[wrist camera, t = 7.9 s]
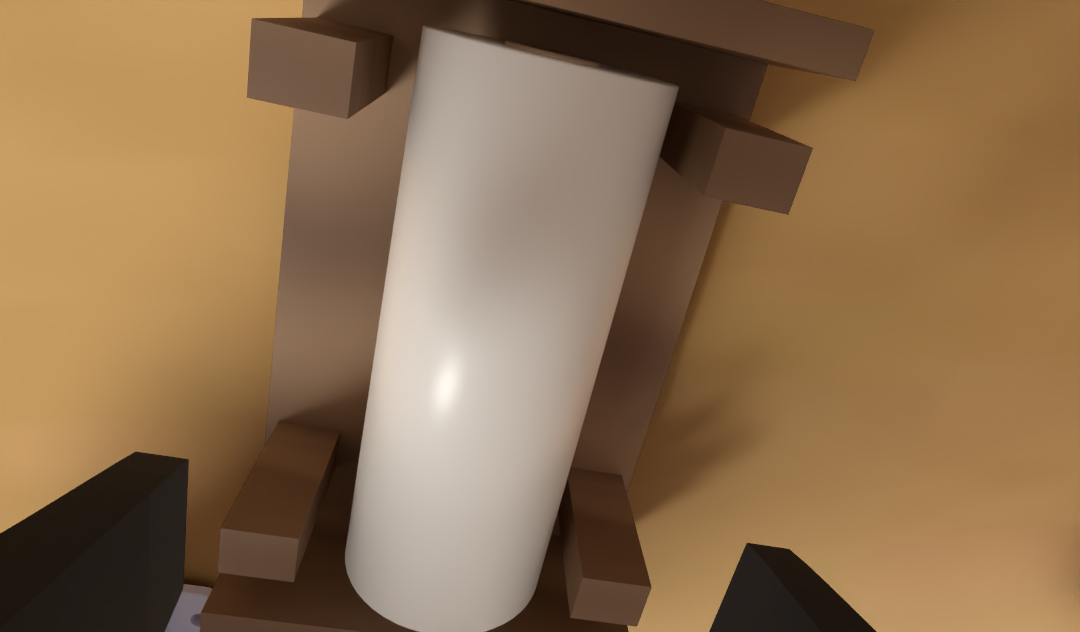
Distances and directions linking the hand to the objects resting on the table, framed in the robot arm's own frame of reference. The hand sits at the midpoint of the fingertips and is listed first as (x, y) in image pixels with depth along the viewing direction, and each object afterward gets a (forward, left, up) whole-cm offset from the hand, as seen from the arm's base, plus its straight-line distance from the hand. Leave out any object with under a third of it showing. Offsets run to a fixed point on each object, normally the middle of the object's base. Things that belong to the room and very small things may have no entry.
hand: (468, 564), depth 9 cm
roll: (0, -1, -9) cm, 9 cm away
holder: (0, 0, -10) cm, 10 cm away
